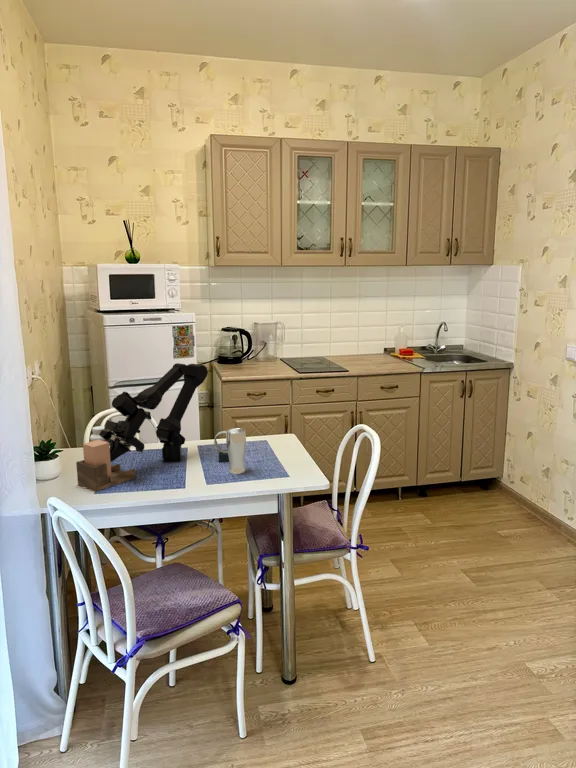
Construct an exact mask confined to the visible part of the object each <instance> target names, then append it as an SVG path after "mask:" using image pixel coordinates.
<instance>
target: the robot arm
mask: <svg viewBox="0 0 576 768" xmlns="http://www.w3.org/2000/svg"><path fill="white" fill-rule="evenodd" d="M208 375H209V372H208V369H207V366H206V365H205V364H197V363H189V364H184V363H178V362H177V363H173V365H172V367H171V368H170V369H169V370H168V371H167V372H166V373H165V374H164V375H163V376H162V377H161V378H159V380H157V381H156V382H155V383H154V384H153V385H152V386H149V387H147V388H145V389H143V390H142V391H140V392H139V393H138V394H137V395H136V396H134V397H133V396H131V394H130V393H129V392H127V391H122V392H121V393H120V394H118V395H117V396H116V397H114V398H113V400H112V402H111V407H113V408H114V409H115V410H116V411H117V412H118V413H119V414H120V415H122V416H123V417H126V418H125V420H118V421H117V422H116V421H112V420H108V419H107V420H106V422H105V425H104V427H105V428H104V429H105V430H102V431H101V432H100V434H99V435H100V436H101V437H102V438H103V439H105V440H106V441H107V442H109V448H110V461H111V463H112V462H113V461H114V460H116V459H118V458H120V457H121V456H123V455H125V454H127V453H128V452H131V447H134V448H135V451H136V452H138V453H143V452H144V449H145V444H144V442H142V441H141V440H140V439H138V438H137V437H135V436H136V434H140V433H141V430H140V428H141V427H142V425H143V424H144V422H145V420H150V421H151V420H152V415H151V412H150V411H146V410H151V411H152V410H155V409H157V408H158V406H159V404H160V403H161V402H162V400H163V396H164V395H165V393H167V392H168V391H169V390H170V389H171V387H173V386H174V385H175V384H176V383H177V382H178V380H180V379H181V378H182V377H183V384H182V387H181V388H180V391H179V394H178V395H177V397H176V399H175V402H174V403H173V406H172V408H171V409H170V412H169V414H168V416H167V417H166V418H162V417H161V418H160V419H159V422H158V425H157V426H155V428H156V431H155V434H156V437H157V439H158V440H159V443H161V444H163V445H162V448H161V453H162V454H161V455H162V459H163V460H162V462H164V463H165V462H166V463H168V462H169V463H171V462H181V461H182V459H183V452H182V451H183V450H182V446H183V445H185V442H186V438H185V437H184V435H182V434H181V430H182V425H181V424H182V423H181V422H182V419H183V417H184V416H185V414H186V413H185V412H186V411H187V409H188V406H189V404H190V402H191V400H192V398H193V396H194V394H195V391H196V390H197V388H198V387H199V386H201V385H202V384H203V383H204V381H206V379H207V377H208ZM145 409H146V410H145Z"/></svg>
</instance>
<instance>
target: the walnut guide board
mask: <svg viewBox="0 0 576 768" xmlns="http://www.w3.org/2000/svg"><path fill="white" fill-rule="evenodd" d="M75 465H76V476H77V485H78V486H80V487H83V488H85V489H89V490H91V491H94V492H98V491H101V490H104V489H107V488H110V487H112V485H113V486H116V485H118V484H122V483H124V481H125V482H127V481H130V480H133V479H135V478H137V475H136V469H135V468H131V469H128V470H122V469H121V464H120V463H116V464H113V465H111V475H112V476H109V481H108V475H107V464H106V463H104V464H100V465H97V466H92V465H89V464H86V463H84V459H83V460H77V461H76V462H75ZM121 482H122V483H121Z"/></svg>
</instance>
